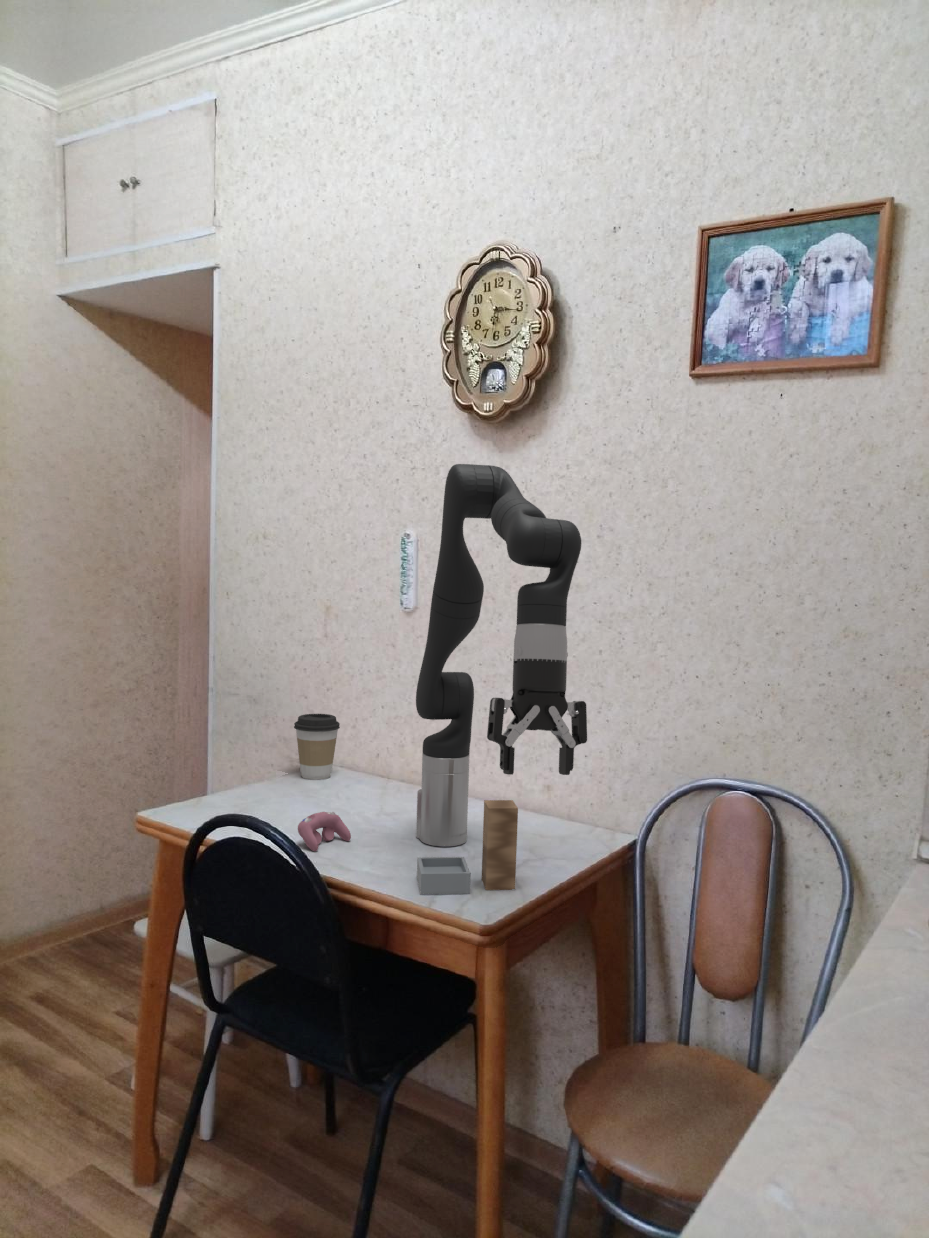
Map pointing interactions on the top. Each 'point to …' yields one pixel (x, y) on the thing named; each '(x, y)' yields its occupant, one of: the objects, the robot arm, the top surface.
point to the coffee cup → (316, 744)
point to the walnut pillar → (499, 844)
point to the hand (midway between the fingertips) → (536, 774)
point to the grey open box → (443, 875)
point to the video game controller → (329, 825)
